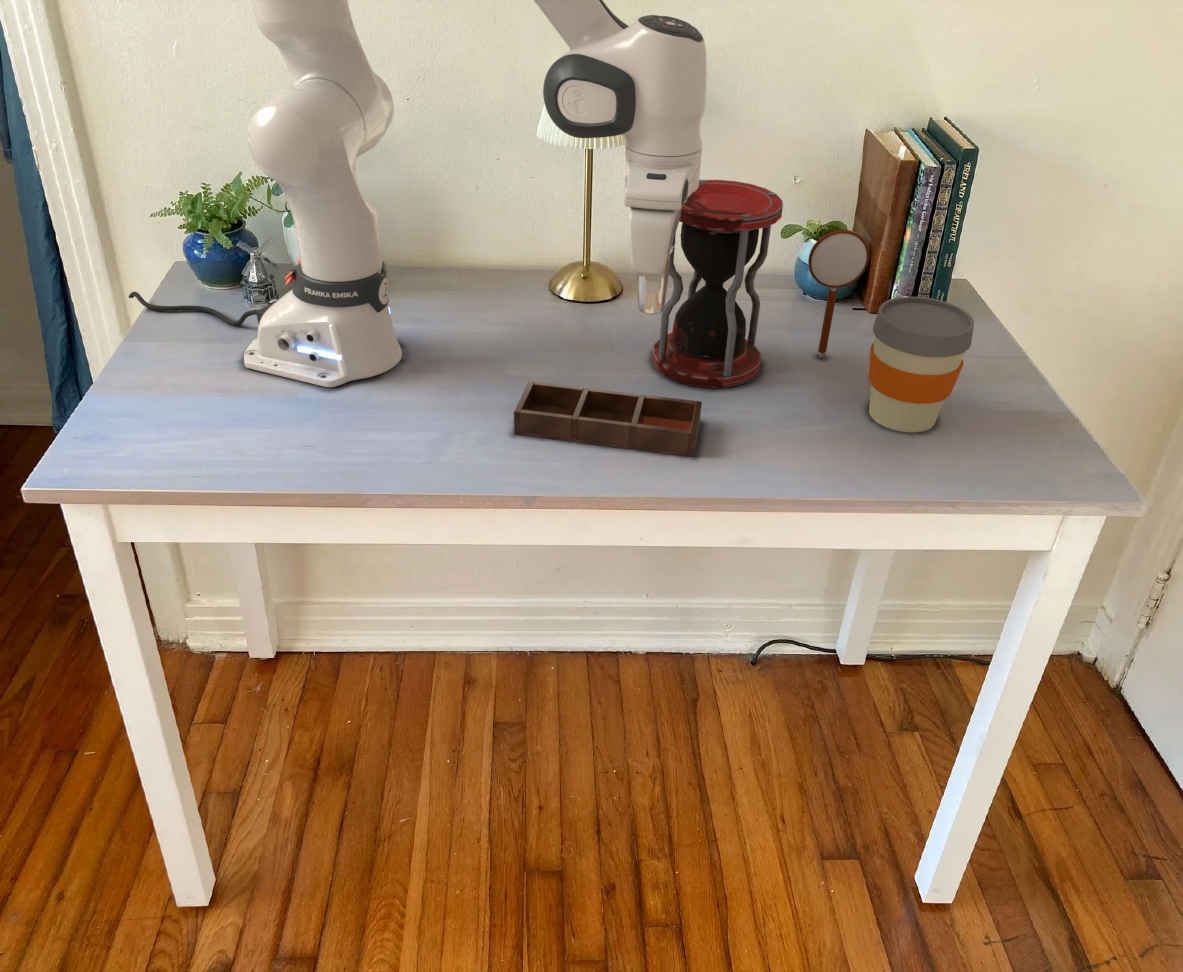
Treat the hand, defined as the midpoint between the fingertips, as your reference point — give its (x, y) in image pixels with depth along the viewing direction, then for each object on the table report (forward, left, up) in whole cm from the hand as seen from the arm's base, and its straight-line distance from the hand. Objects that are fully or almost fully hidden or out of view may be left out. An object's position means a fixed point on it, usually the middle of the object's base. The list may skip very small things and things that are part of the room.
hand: (655, 282), depth 124 cm
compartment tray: (-5, -4, -20) cm, 21 cm away
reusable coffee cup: (+34, +9, -20) cm, 41 cm away
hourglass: (+6, +18, -20) cm, 28 cm away
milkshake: (0, 0, -4) cm, 4 cm away
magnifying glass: (+23, +24, -20) cm, 39 cm away
